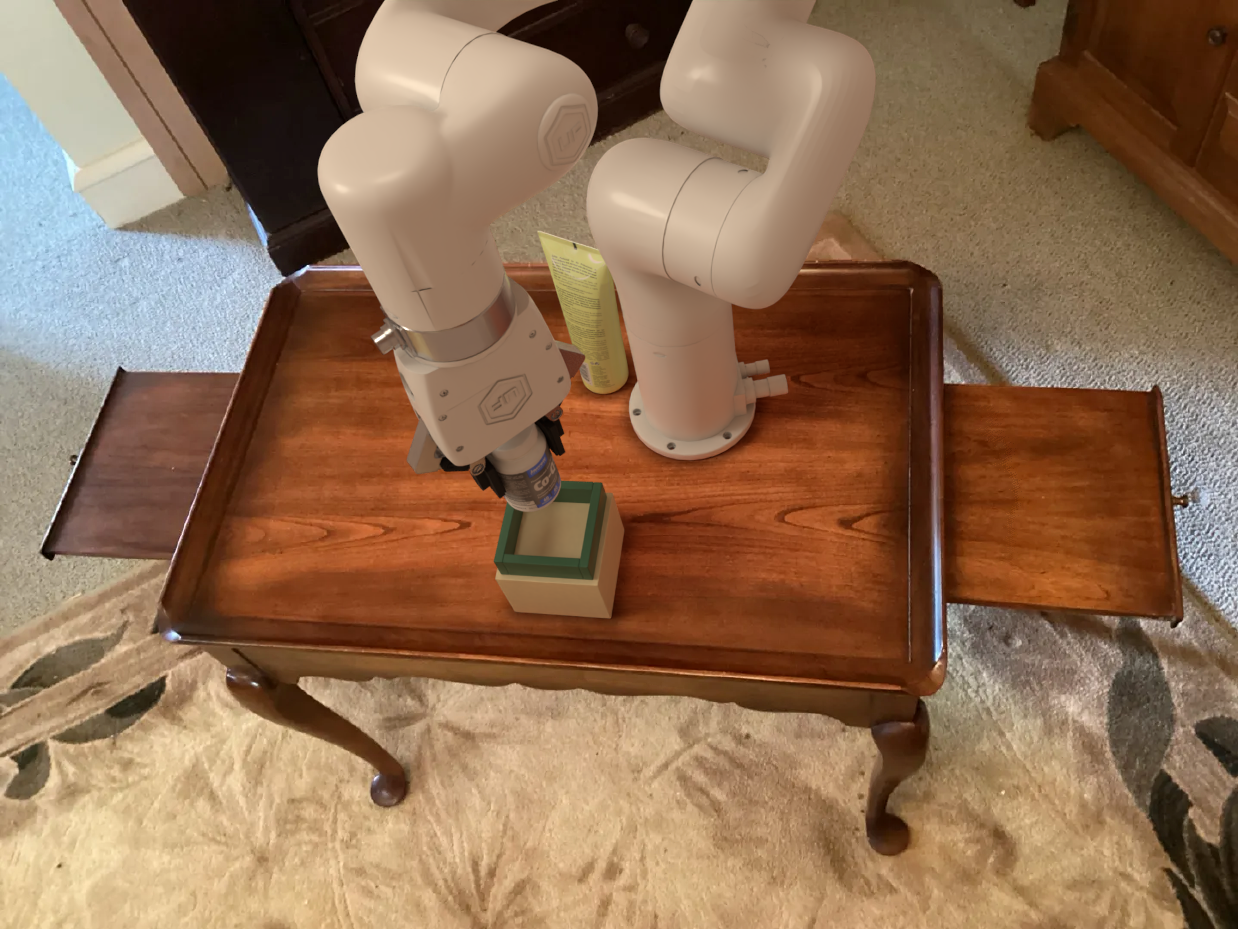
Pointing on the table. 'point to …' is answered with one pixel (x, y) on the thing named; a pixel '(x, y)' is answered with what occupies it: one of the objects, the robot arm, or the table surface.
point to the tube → (588, 310)
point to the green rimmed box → (562, 553)
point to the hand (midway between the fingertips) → (521, 462)
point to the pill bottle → (527, 470)
